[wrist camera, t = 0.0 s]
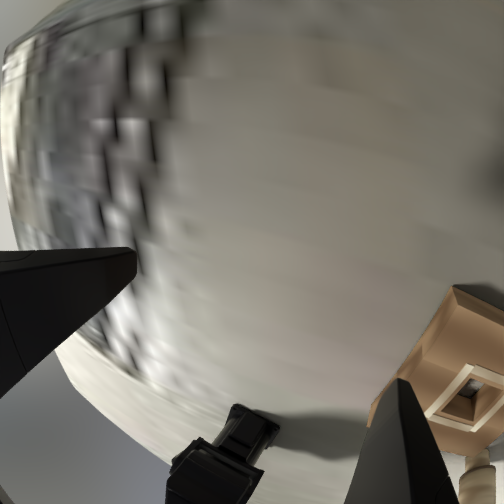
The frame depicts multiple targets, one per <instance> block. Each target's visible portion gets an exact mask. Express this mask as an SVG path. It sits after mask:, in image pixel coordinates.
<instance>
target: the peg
mask: <svg viewBox="0 0 504 504" xmlns="http://www.w3.org/2000/svg"><path fill="white" fill-rule="evenodd" d="M458 501H459V503H460V504H496V468H495V466H493V465H490V460H489V450H487V449H484V450H482V451H481V452H480V453H479V454H478V455H476V456H475V457H474V458H471V457H466V459H465V473H464V474H463V475H462V476H461V477H460V479H459V497H458Z"/></svg>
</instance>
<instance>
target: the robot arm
mask: <svg viewBox="0 0 504 504" xmlns="http://www.w3.org/2000/svg"><path fill="white" fill-rule="evenodd" d="M137 257H138V256H137V252H136V251H134V250H133V249H131V248H129V247H108V248H80V249H54V250H37V251H35V250H29V251H0V399H1V398H2V397H3V396H4V395H5V394H6V393H7V392H8V391H9V390H10V389H11V388H12V387H13V386H14V385H16V383H18V382H19V381H20V380H21V379H22V378H23V377H24V376H25V375H26V374H27V373H28V372H29V371H30V370H32V369H33V368H34V367H35V366H36V365H37V364H38V363H40V362H41V361H42V360H43V359H44V358H45V357H46V356H47V355H49V354H50V353H51V352H52V351H53V350H54V349H55V348H57V347H58V346H59V345H60V344H61V343H62V342H64V341H65V340H66V339H67V338H68V337H69V336H71V335H72V334H73V333H74V332H75V331H76V330H78V329H79V328H80V327H81V326H82V325H84V324H85V323H86V322H87V321H88V320H90V319H91V318H92V317H93V316H94V315H96V314H97V313H98V312H99V311H101V310H102V309H103V308H104V307H105V306H106V305H108V304H109V303H110V302H111V301H112V300H113V299H114V298H115V297H116V296H117V295H118V294H119V293H120V292H121V291H122V290H123V289H124V288H125V287H126V286H127V285H128V284H129V283H130V282H131V281H132V280H133V279H134V278H135V276H136V274H137ZM279 430H280V427H279V426H278V425H276V424H274V423H272V422H270V421H268V420H266V419H264V418H262V417H260V416H258V415H256V414H254V413H252V412H250V411H248V410H246V409H244V408H242V407H240V406H238V405H236V404H233V406H232V407H231V410H230V413H229V415H228V418H227V421H226V424H225V427H224V428H223V429H222V431H221V432H220V433H219V435H218V436H217V437H216V439H215V440H214V441H213V443H212V444H210V443H208V442H207V441H205V440H204V439H203V438H201V437H199V438H198V439H197V440H193V441H192V442H191V444H190V445H189V446H188V447H187V448H186V449H185V450H184V451H182V452H181V453H179V454H178V455H177V456H175V457H174V458H173V459H172V467H171V469H170V472H169V473H170V475H171V476H170V477H169V478H168V480H167V485H166V499H165V504H246V503H247V501H248V500H249V498H250V497H251V495H252V493H253V492H254V490H255V488H256V486H257V485H258V483H259V481H260V479H261V477H262V475H263V474H264V472H265V471H263V470H261V469H258V468H255V467H254V465H255V463H256V462H257V460H258V458H259V457H260V455H261V453H262V452H263V450H264V449H267V448H268V447H269V445H270V444H271V442H272V441H273V439H274V438H275V436H276V435H277V433H278V432H279ZM448 475H449V474H448V471H447V468H446V465H445V463H444V460H443V458H442V455H441V453H440V450H439V448H438V445H437V443H436V440H435V438H434V435H433V433H432V431H431V428H430V426H429V424H428V421H427V419H426V417H425V414H424V412H423V410H422V408H421V405H420V403H419V401H418V399H417V397H416V395H415V392H414V390H413V388H412V386H411V384H410V382H409V381H407V380H404V379H402V378H396V379H395V380H394V381H393V382H392V383H391V385H390V386H389V387H388V388H387V390H386V391H385V392H384V393H383V395H382V396H381V398H380V400H379V402H378V405H377V408H376V411H375V414H374V417H373V419H372V422H371V425H370V427H369V430H368V433H367V435H366V438H365V440H364V443H363V446H362V449H361V453H360V456H359V459H358V463H357V466H356V469H355V473H354V476H353V479H352V482H351V485H350V488H349V491H348V493H347V496H346V499H345V502H344V504H460V503H459V501H458V498H457V495H456V492H455V490H454V487H453V484H452V482H451V479H450V477H449V476H448ZM0 504H14V503H13V501H12V500H11V499H10V498H9V496H8V495H7V494H6V492H5V491H4V490H3V488H2V487H1V485H0Z"/></svg>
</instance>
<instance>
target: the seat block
mask: <svg viewBox="0 0 504 504" xmlns="http://www.w3.org/2000/svg"><path fill="white" fill-rule="evenodd" d="M396 378H402V379H404V380H407V381H409V382H410V384H411V386H412V388H413V390H414V392H415V395H416V397H417V399H418V401H419V403H420V405H421V408H422V410H423V412H424V414H425V417H426V419H427V421H428V424H429V426H430V428H431V431H432V433H433V435H434V438H435V440H436V443H437V445H438V448H439V450H442V451H446V452H450V453H454V454H458V455H462V456H467V457H471V458H474V457H475V456H476V455H478V454H479V453H480V452H481V451H482V450H484V449H485V448H486V447H487V446H488V445H490V444H491V443H492V442H493V441H494V440H495V439H496V438H498V437H499V436H500V435H501V434H502V433H503V432H504V311H502V310H500V309H498V308H496V307H494V306H492V305H490V304H488V303H486V302H484V301H482V300H480V299H478V298H476V297H474V296H472V295H470V294H468V293H465V292H463V291H461V290H459V289H457V288H455V287H453V286H451V287H450V289H449V291H448V293H447V295H446V296H445V298H444V300H443V302H442V304H441V305H440V307H439V309H438V310H437V312H436V314H435V316H434V317H433V319H432V321H431V322H430V324H429V325H428V327H427V329H426V330H425V332H424V333H423V335H422V336H421V338H420V340H419V341H418V343H417V344H416V346H415V347H414V349H413V350H412V351H411V353H410V354H409V356H408V357H407V359H406V360H405V362H404V363H403V364H402V366H401V367H400V368H399V370H398V371H397V373H396V374H395V375H394V377H393V378H392V379H391V380H390V382H389V383H388V384H387V386H386V387H385V388H384V389H383V391H382V392H381V393H380V394H379V396H378V397H377V398H376V399H375V401H374V402H373V403H372V404H371V409H370V413H369V418H368V422H367V426H366V427H370V425H371V422H372V419H373V417H374V414H375V411H376V408H377V405H378V402H379V400H380V398H381V396H382V395H383V393H384V392H385V391H386V390H387V388H388V387H389V386H390V385H391V383H392V382H393V381H394V380H395V379H396ZM470 378H472V379H474V380H477V381H480V382H482V383H485V384H484V385H483V386H482V387H481V388H480V389H479V391H478V392H477V393H476V394H475V395H474V396H473V397H472V398H471V399H469V398H466V397H463V396H460V395H457V393H458V392H459V391H460V390H461V388H462V387H463V386H464V385H465V384H466V383H467V381H468V380H469V379H470Z"/></svg>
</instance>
